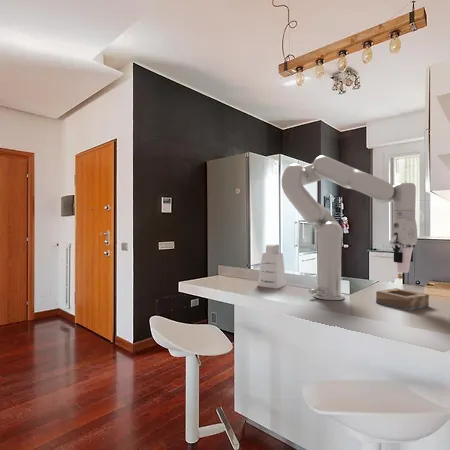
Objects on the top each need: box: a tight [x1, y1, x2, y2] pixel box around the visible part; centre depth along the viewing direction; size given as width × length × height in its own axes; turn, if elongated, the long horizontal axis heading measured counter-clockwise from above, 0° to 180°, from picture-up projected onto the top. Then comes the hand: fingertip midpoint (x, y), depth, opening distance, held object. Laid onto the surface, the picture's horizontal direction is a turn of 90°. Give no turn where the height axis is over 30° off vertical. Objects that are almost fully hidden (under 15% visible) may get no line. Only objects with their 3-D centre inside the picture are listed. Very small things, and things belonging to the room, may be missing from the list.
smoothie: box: [396, 246, 413, 274], centre depth 126 cm, size 6×6×14 cm
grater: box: [257, 244, 287, 289], centre depth 159 cm, size 10×10×20 cm
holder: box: [375, 288, 430, 312], centre depth 126 cm, size 13×13×4 cm
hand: (403, 261), depth 126 cm, fingers closed on smoothie, 6 cm apart
